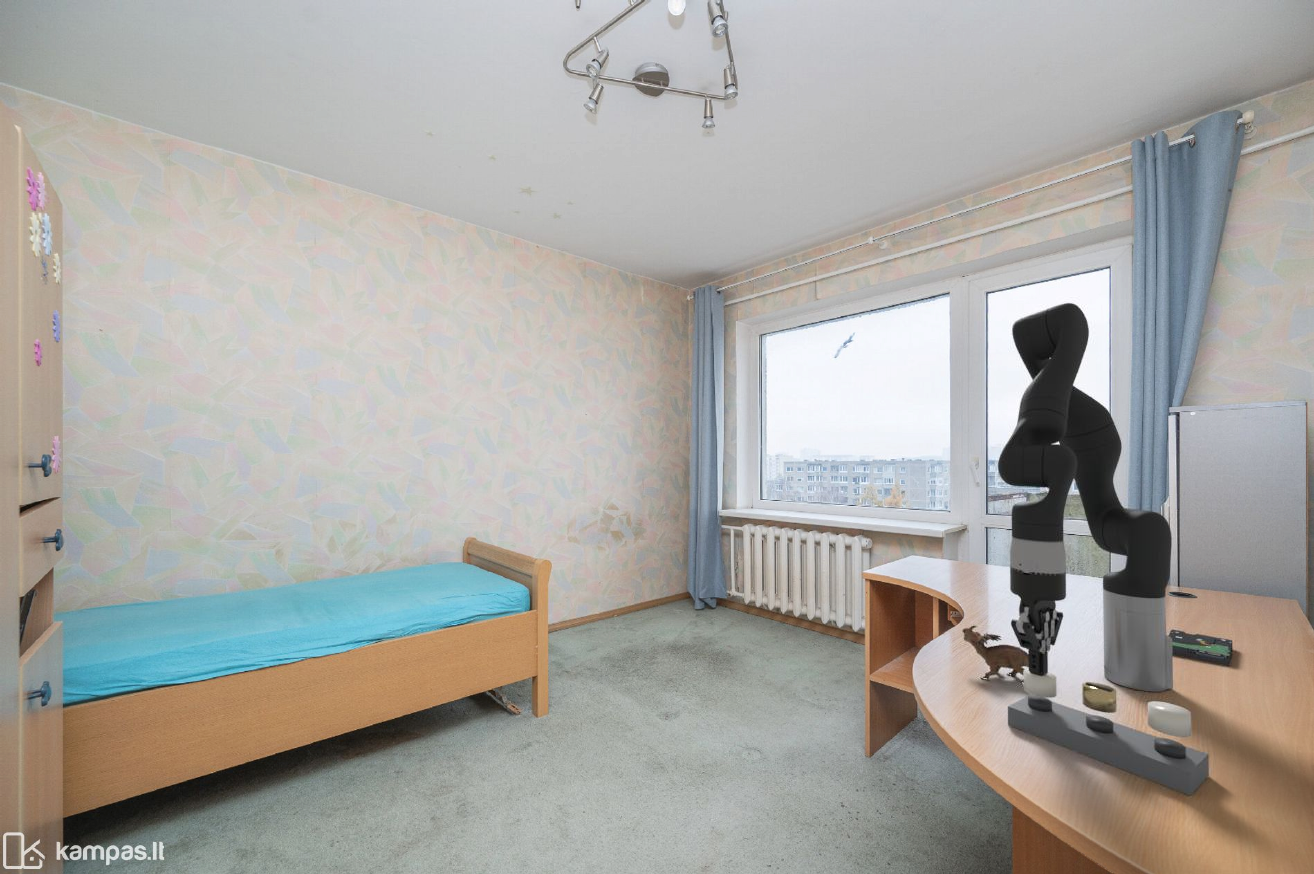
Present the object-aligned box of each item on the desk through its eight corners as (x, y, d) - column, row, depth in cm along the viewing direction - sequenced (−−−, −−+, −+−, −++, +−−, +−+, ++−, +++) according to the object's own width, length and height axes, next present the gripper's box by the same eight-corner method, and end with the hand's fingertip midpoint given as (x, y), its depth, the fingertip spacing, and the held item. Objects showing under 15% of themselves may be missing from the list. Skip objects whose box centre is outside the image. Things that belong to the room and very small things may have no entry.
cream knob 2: (1195, 731, 76) (1195, 710, 76) (1185, 740, 74) (1185, 719, 74) (1154, 718, 80) (1153, 698, 80) (1143, 726, 78) (1142, 706, 78)
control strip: (1208, 776, 76) (1208, 745, 76) (1190, 795, 72) (1189, 762, 72) (1031, 712, 95) (1030, 687, 95) (1008, 724, 90) (1007, 698, 91)
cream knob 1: (1061, 693, 90) (1061, 675, 90) (1049, 699, 87) (1048, 681, 87) (1031, 683, 93) (1031, 666, 93) (1018, 689, 91) (1018, 672, 91)
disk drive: (1170, 640, 133) (1164, 655, 123) (1170, 628, 133) (1163, 642, 123) (1232, 652, 125) (1231, 668, 115) (1232, 639, 125) (1231, 655, 115)
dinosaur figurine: (966, 677, 109) (965, 630, 110) (962, 667, 115) (962, 621, 115) (1049, 689, 104) (1048, 639, 104) (1041, 677, 109) (1040, 630, 110)
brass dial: (1121, 708, 83) (1120, 687, 83) (1110, 715, 81) (1110, 694, 81) (1088, 698, 86) (1088, 678, 86) (1077, 704, 84) (1077, 684, 84)
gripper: (1031, 558, 98) (1032, 658, 97) (992, 566, 90) (992, 674, 90) (1081, 566, 91) (1082, 673, 91) (1044, 575, 84) (1045, 691, 84)
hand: (1038, 673), depth 90 cm, fingers closed
